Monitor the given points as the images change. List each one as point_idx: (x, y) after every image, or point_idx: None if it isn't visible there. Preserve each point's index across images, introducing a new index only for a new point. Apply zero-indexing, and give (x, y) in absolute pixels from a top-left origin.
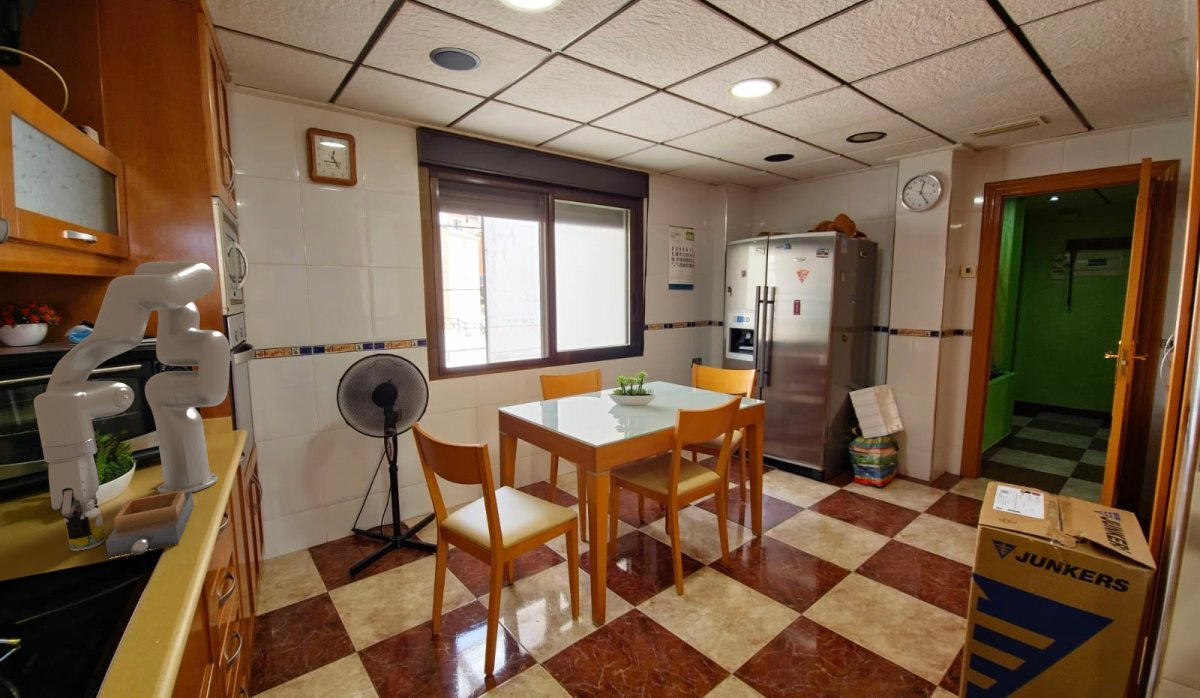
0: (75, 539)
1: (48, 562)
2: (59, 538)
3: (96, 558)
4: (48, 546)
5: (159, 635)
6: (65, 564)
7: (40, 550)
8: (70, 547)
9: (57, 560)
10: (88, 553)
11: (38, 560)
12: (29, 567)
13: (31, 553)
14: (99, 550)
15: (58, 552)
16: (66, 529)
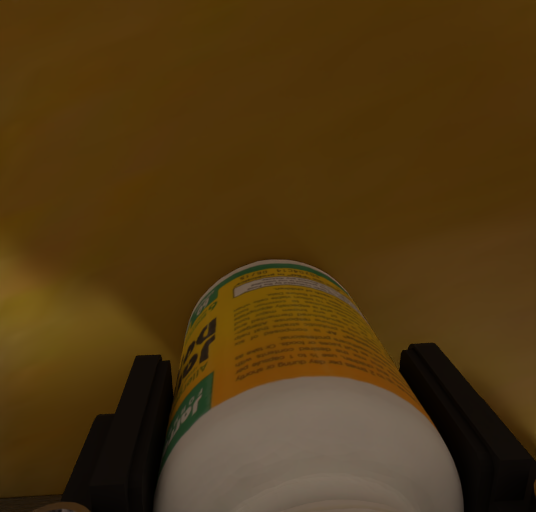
0: (182, 359)
1: (103, 186)
2: (529, 118)
3: (28, 436)
4: (415, 89)
5: None
6: (17, 300)
7: (369, 56)
8: (232, 275)
9: (110, 232)
10: None
11: (176, 106)
12: (74, 86)
13: (348, 7)
14: None
15: (253, 194)
16: (234, 346)
